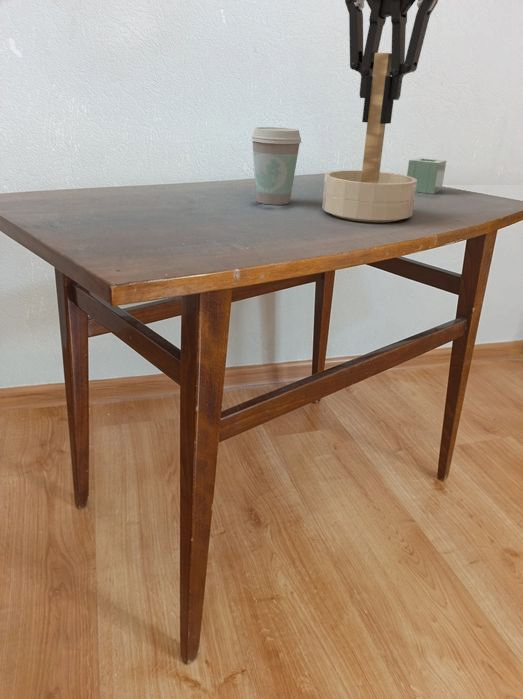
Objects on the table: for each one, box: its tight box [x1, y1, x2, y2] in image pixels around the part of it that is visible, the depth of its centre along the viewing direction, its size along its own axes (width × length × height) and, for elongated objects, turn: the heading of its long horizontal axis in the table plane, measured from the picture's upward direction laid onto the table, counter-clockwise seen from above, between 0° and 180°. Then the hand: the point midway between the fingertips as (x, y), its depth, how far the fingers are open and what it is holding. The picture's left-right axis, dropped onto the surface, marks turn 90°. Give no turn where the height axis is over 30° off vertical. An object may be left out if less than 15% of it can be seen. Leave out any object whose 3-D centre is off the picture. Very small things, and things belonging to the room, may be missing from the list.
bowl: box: [321, 169, 417, 223], centre depth 95 cm, size 14×14×6 cm
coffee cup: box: [250, 126, 302, 206], centre depth 101 cm, size 8×8×12 cm
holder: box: [406, 157, 447, 195], centre depth 121 cm, size 6×6×6 cm
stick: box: [361, 52, 392, 183], centre depth 91 cm, size 2×2×22 cm
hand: (376, 122), depth 91 cm, fingers closed on stick, 2 cm apart
